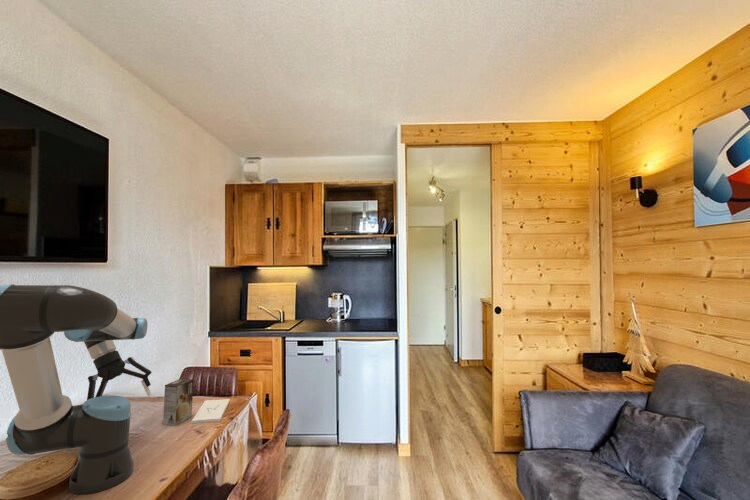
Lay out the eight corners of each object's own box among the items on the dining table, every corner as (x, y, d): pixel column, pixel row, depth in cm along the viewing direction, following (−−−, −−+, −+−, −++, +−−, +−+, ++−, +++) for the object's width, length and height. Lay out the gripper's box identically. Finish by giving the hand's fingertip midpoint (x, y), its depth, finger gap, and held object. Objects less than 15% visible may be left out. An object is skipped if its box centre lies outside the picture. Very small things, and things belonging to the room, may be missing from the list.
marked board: (220, 421, 140) (220, 418, 140) (191, 423, 138) (191, 420, 138) (229, 401, 162) (229, 398, 162) (205, 403, 159) (205, 400, 159)
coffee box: (179, 415, 145) (181, 377, 146) (192, 417, 144) (194, 379, 145) (162, 424, 136) (164, 384, 137) (175, 426, 135) (177, 386, 136)
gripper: (144, 337, 132) (168, 385, 131) (68, 373, 121) (93, 426, 119) (140, 337, 125) (164, 387, 124) (58, 374, 114) (85, 430, 113)
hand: (129, 406), depth 122 cm, fingers open, 13 cm apart
